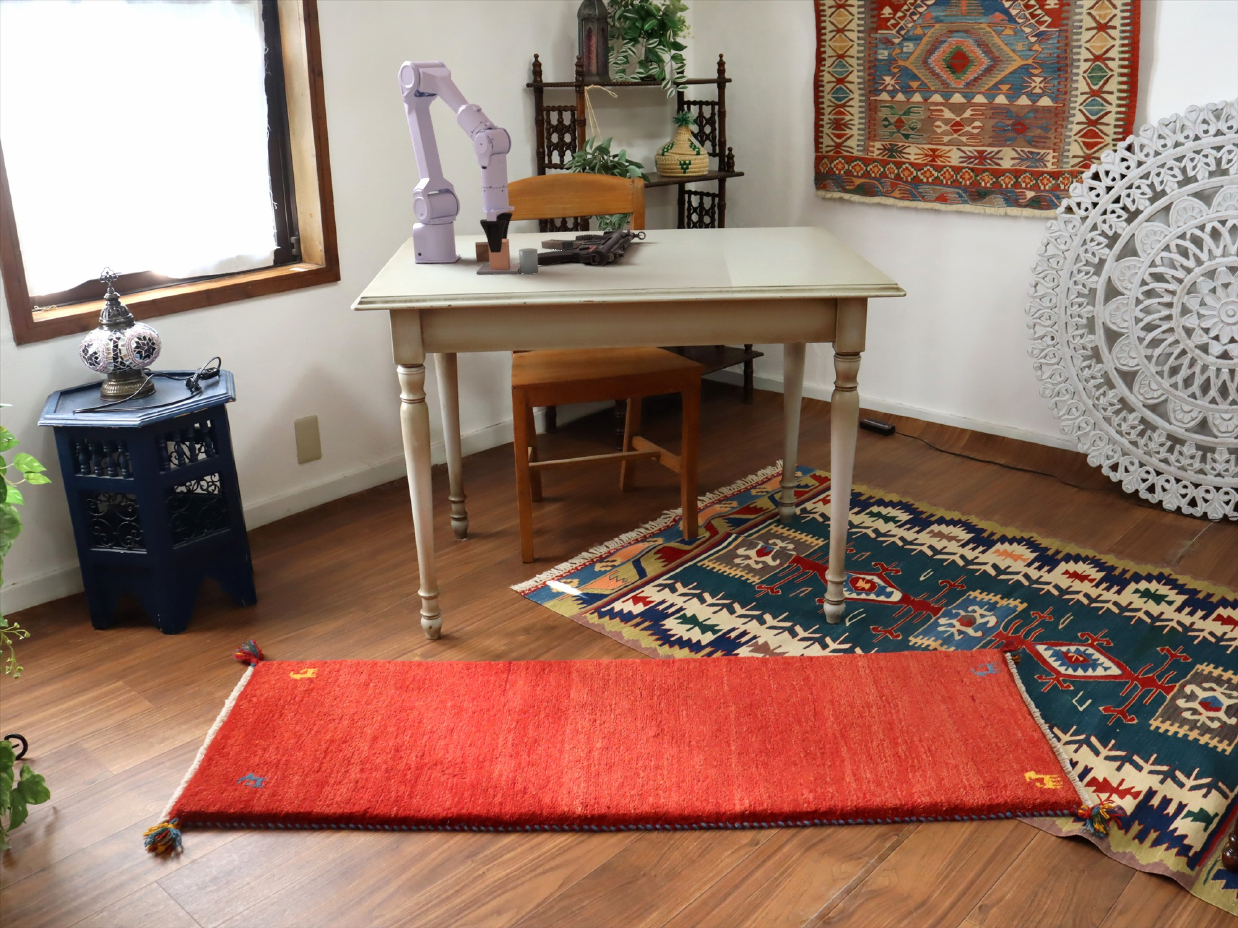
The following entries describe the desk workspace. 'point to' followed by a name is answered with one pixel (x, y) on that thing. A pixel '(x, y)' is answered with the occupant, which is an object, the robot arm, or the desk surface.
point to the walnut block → (482, 251)
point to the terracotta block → (500, 257)
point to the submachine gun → (588, 248)
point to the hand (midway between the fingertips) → (498, 249)
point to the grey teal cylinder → (528, 261)
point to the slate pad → (486, 269)
